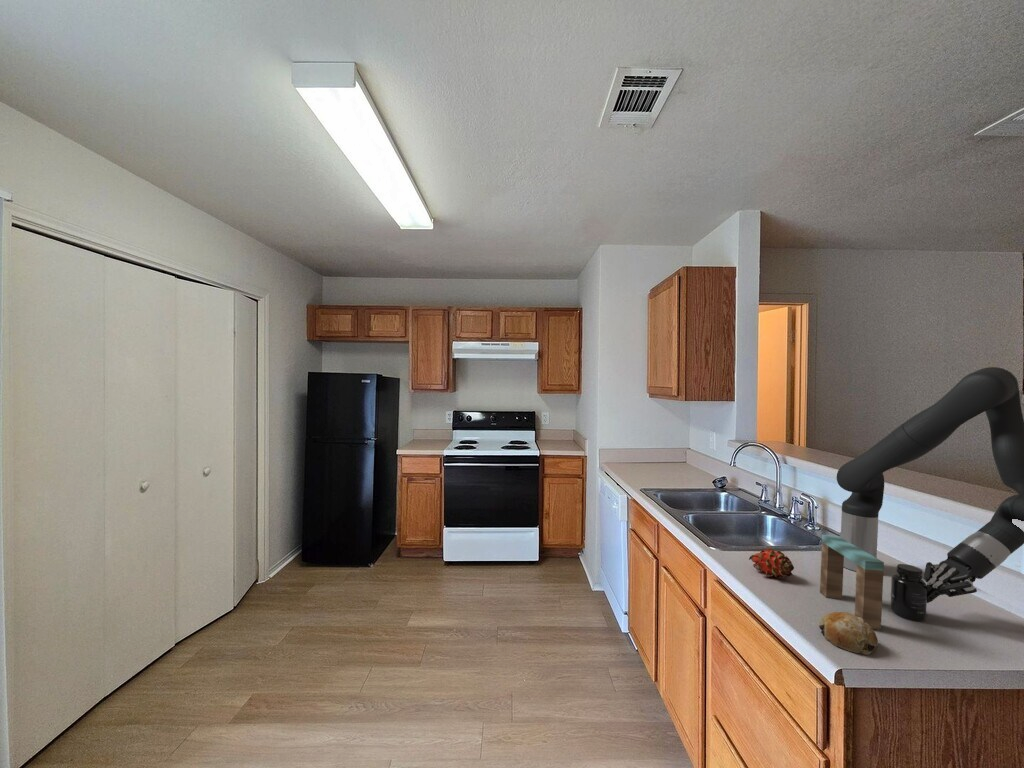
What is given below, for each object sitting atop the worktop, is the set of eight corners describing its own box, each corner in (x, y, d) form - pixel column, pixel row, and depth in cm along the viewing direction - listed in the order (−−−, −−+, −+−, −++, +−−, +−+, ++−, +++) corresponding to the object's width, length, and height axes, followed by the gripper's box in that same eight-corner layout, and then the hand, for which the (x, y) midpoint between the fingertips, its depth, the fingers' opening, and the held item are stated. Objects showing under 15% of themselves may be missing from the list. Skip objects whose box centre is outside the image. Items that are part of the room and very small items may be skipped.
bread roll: (847, 671, 96) (867, 646, 92) (805, 628, 104) (821, 604, 101) (875, 661, 100) (894, 637, 96) (831, 620, 108) (848, 597, 105)
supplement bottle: (883, 608, 116) (884, 562, 116) (907, 607, 117) (908, 561, 117) (908, 622, 109) (910, 573, 109) (934, 621, 110) (935, 573, 110)
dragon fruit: (796, 589, 129) (751, 581, 137) (800, 565, 134) (756, 558, 143) (788, 569, 126) (743, 562, 134) (792, 545, 131) (748, 540, 140)
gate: (819, 592, 124) (822, 534, 124) (835, 593, 124) (837, 535, 123) (862, 628, 106) (865, 560, 106) (880, 629, 106) (883, 562, 106)
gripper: (944, 533, 118) (891, 576, 120) (992, 553, 105) (932, 600, 107) (965, 555, 118) (912, 597, 119) (1016, 577, 104) (955, 624, 106)
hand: (921, 599), depth 113 cm, fingers closed
